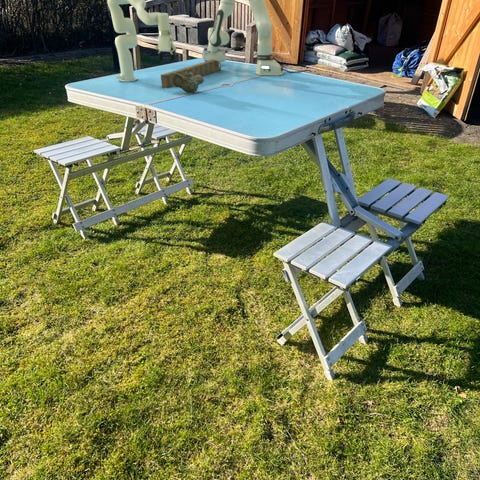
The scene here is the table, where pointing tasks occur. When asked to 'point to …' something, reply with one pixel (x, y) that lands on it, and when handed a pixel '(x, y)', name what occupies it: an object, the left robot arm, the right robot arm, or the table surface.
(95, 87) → the table surface
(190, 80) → the teapot
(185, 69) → the bar
